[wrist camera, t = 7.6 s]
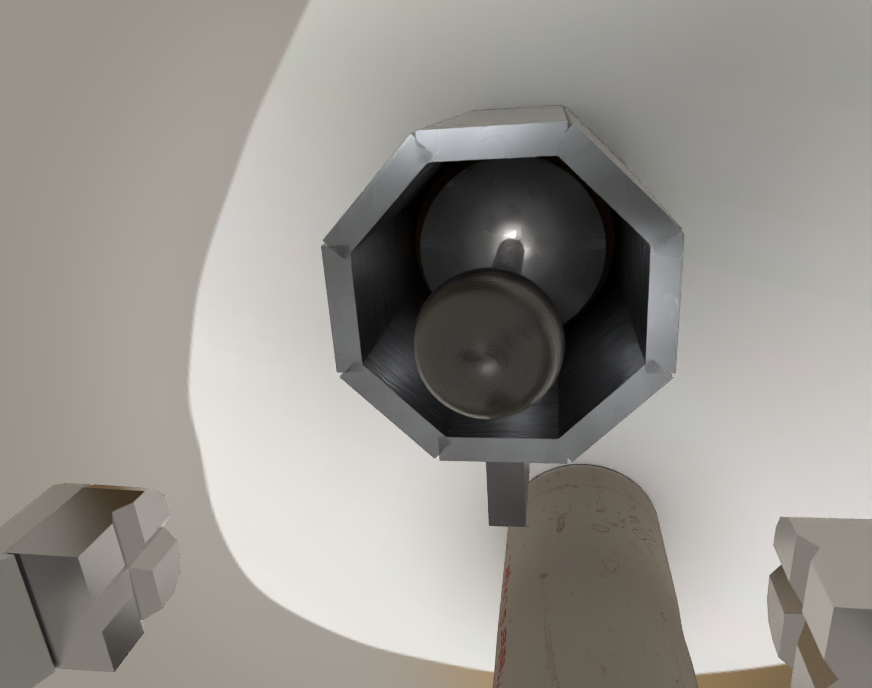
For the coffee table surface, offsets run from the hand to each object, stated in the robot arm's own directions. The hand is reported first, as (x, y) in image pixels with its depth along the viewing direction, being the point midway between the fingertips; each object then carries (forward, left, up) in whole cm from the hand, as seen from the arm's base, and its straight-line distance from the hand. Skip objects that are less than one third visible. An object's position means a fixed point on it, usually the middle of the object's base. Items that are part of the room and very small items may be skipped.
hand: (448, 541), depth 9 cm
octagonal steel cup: (0, +2, -24) cm, 24 cm away
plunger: (0, 0, -18) cm, 18 cm away
